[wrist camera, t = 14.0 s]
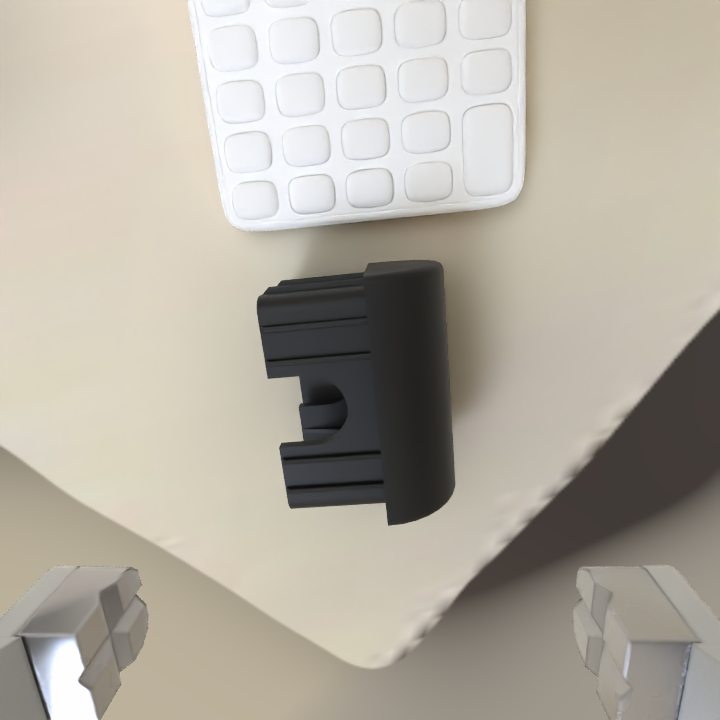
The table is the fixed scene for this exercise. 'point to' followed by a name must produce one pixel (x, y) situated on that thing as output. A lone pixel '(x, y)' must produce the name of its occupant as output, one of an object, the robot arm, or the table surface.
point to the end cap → (366, 387)
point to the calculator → (362, 107)
